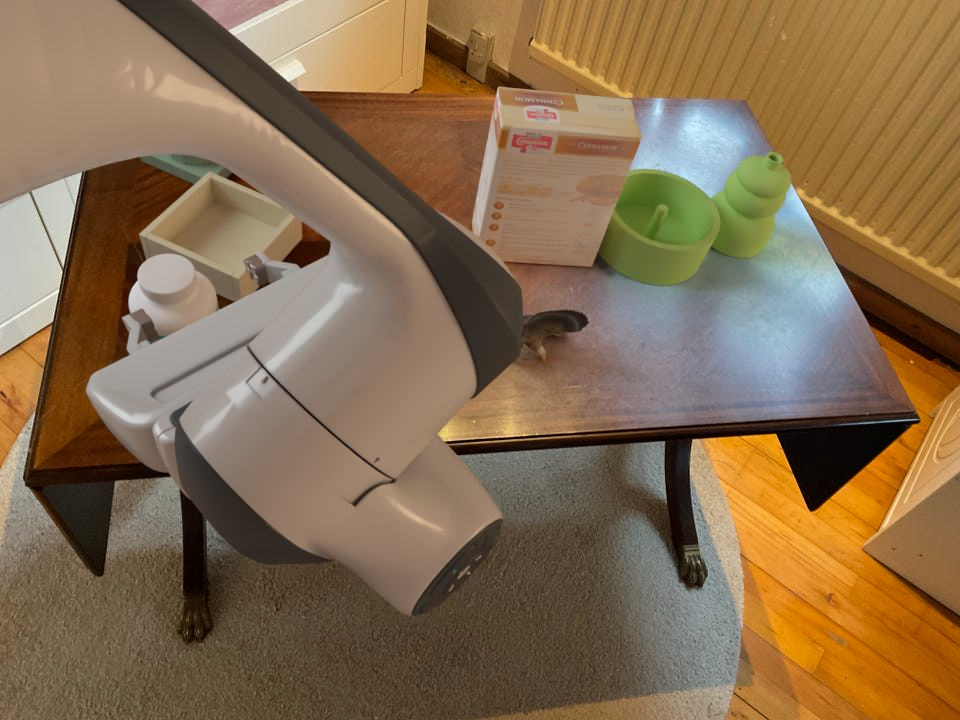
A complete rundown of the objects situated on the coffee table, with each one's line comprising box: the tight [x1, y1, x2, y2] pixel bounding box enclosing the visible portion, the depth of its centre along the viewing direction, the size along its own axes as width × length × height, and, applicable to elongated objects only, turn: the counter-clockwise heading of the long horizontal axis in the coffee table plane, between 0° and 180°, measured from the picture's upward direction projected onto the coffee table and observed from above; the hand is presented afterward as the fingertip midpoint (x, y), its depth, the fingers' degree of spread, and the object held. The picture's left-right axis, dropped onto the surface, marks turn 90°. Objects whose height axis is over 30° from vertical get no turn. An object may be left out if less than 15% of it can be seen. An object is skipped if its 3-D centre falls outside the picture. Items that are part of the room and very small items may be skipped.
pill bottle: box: [128, 254, 220, 344], centre depth 69 cm, size 8×7×14 cm
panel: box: [139, 154, 234, 185], centre depth 91 cm, size 10×8×4 cm
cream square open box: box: [138, 172, 303, 303], centre depth 82 cm, size 12×12×4 cm
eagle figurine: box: [518, 309, 590, 362], centre depth 80 cm, size 8×7×9 cm
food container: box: [597, 151, 792, 286], centre depth 92 cm, size 25×14×13 cm, turn 108°
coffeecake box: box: [471, 86, 643, 268], centre depth 85 cm, size 15×7×20 cm, turn 93°
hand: (196, 289), depth 54 cm, fingers open, 8 cm apart
